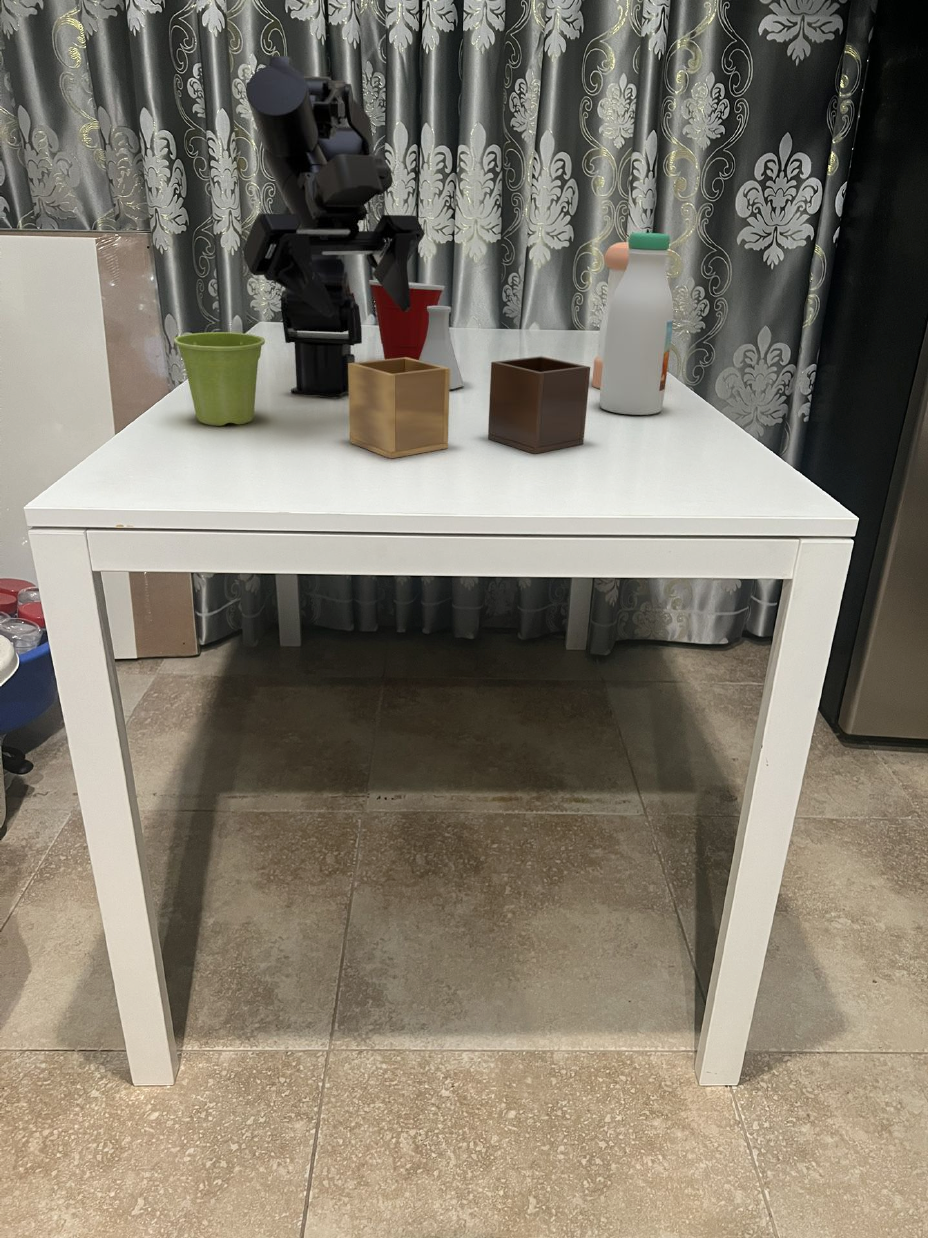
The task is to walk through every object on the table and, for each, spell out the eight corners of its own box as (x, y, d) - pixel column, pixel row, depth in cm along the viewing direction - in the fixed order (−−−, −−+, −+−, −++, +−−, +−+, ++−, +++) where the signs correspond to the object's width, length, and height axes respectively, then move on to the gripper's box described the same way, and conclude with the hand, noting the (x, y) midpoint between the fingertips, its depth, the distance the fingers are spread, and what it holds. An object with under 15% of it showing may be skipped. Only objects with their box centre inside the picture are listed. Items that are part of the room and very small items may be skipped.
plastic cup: (457, 366, 134) (460, 280, 129) (415, 377, 126) (416, 285, 120) (398, 358, 139) (398, 274, 134) (354, 367, 131) (352, 279, 126)
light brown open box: (349, 442, 93) (347, 363, 90) (405, 433, 97) (406, 356, 94) (390, 458, 88) (390, 375, 85) (448, 448, 92) (450, 368, 89)
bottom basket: (487, 438, 96) (491, 361, 93) (536, 429, 101) (541, 355, 97) (534, 454, 91) (540, 373, 88) (583, 444, 96) (590, 366, 92)
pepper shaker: (609, 392, 120) (625, 236, 112) (582, 382, 126) (595, 233, 118) (655, 390, 123) (674, 237, 115) (626, 379, 129) (642, 233, 121)
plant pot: (285, 415, 103) (280, 336, 99) (240, 434, 95) (234, 348, 91) (213, 407, 105) (206, 329, 102) (164, 424, 97) (155, 340, 93)
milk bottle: (648, 419, 107) (670, 235, 98) (588, 409, 110) (605, 231, 102) (671, 408, 113) (694, 234, 104) (613, 399, 116) (631, 230, 108)
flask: (458, 392, 117) (460, 311, 113) (404, 388, 118) (404, 308, 114) (469, 382, 124) (471, 305, 119) (417, 378, 125) (418, 302, 120)
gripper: (248, 114, 81) (318, 255, 78) (414, 128, 92) (481, 252, 89) (216, 207, 90) (277, 337, 87) (371, 210, 101) (430, 325, 98)
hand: (370, 311), depth 90 cm, fingers open, 9 cm apart
